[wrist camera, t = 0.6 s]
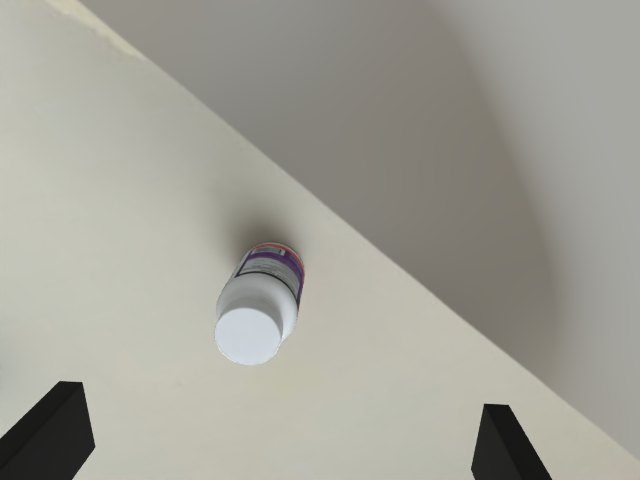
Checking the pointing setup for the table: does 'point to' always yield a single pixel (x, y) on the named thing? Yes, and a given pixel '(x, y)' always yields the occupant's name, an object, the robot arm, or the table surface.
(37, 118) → the table surface
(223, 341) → the pill bottle
